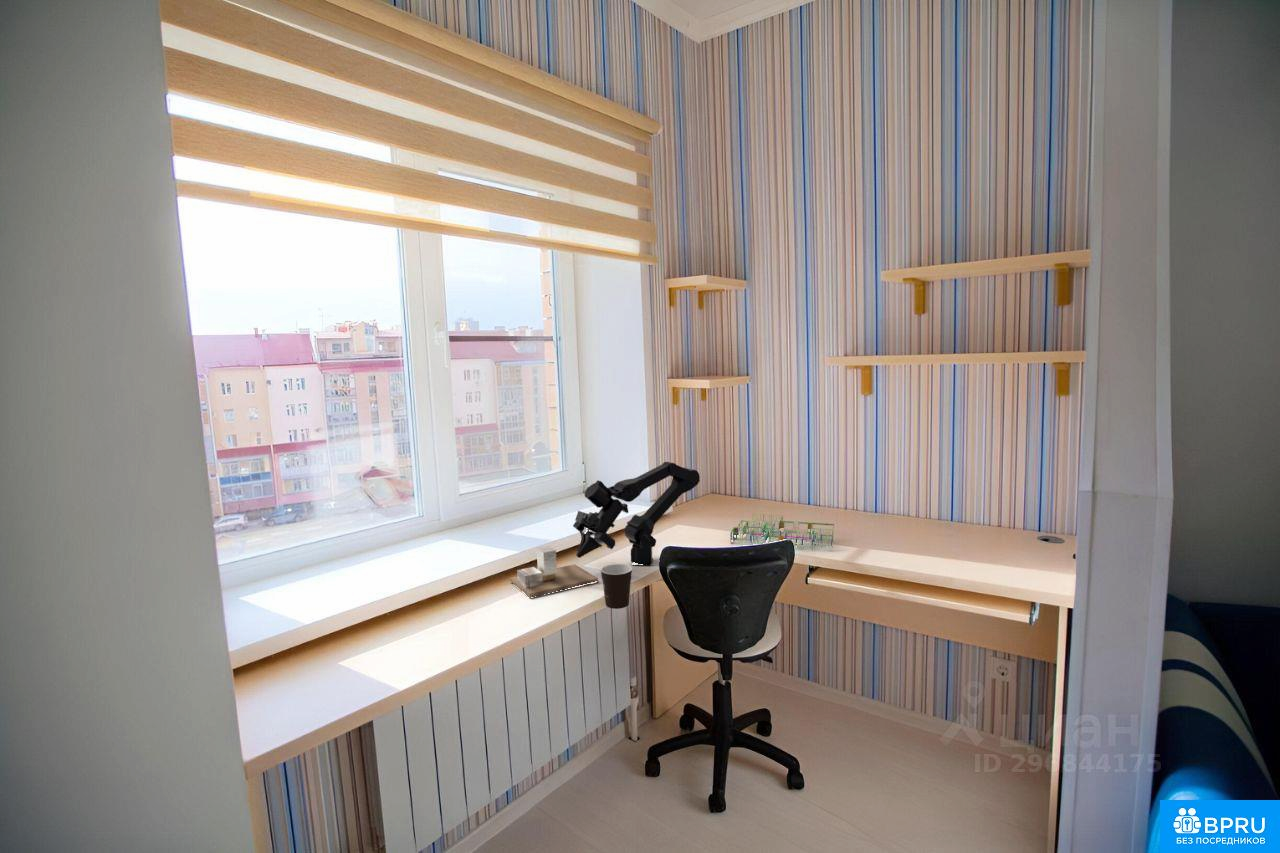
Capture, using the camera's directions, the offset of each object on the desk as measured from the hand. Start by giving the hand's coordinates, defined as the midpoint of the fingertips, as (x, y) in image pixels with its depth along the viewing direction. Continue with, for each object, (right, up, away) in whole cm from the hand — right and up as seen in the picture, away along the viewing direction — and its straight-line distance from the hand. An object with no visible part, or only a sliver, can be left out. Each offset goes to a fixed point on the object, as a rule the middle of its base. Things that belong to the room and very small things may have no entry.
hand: (577, 556), depth 197 cm
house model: (+73, -1, +40) cm, 83 cm away
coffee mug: (+14, -9, -20) cm, 26 cm away
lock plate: (-8, -7, -4) cm, 11 cm away
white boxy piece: (-11, -6, -6) cm, 14 cm away
